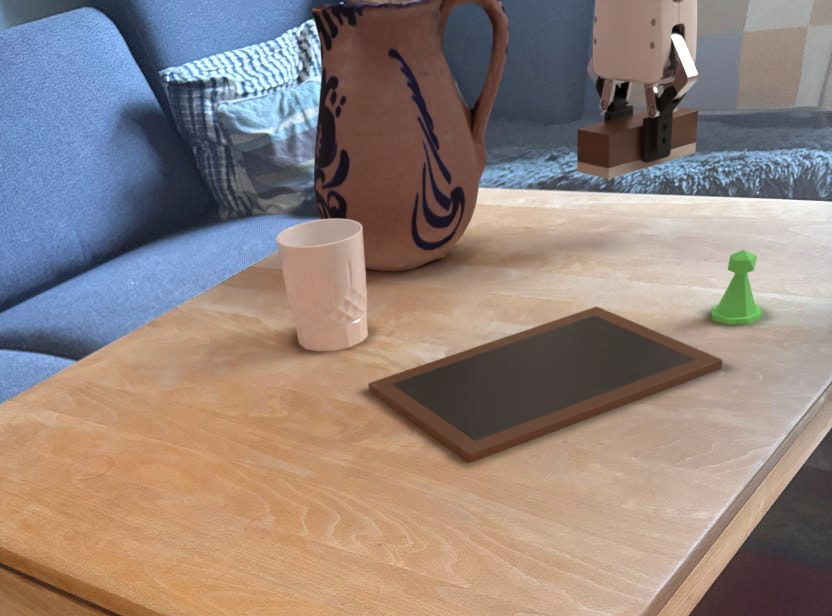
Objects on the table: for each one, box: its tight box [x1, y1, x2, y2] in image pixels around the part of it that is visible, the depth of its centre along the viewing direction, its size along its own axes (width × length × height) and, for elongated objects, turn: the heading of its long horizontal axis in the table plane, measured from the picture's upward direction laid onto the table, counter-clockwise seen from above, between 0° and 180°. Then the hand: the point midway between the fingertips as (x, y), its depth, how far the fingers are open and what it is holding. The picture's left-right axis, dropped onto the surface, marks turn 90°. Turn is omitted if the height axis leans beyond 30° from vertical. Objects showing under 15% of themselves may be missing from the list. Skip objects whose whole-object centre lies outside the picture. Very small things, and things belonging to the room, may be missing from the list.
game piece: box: [710, 249, 763, 326], centre depth 84 cm, size 4×4×6 cm
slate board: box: [368, 306, 723, 464], centre depth 80 cm, size 24×16×1 cm, turn 117°
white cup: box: [275, 219, 369, 352], centre depth 90 cm, size 8×8×10 cm
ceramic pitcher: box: [311, 0, 510, 272], centre depth 102 cm, size 18×21×25 cm
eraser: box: [576, 106, 699, 180], centre depth 98 cm, size 11×5×4 cm, turn 117°
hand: (636, 153), depth 99 cm, fingers closed on eraser, 5 cm apart
